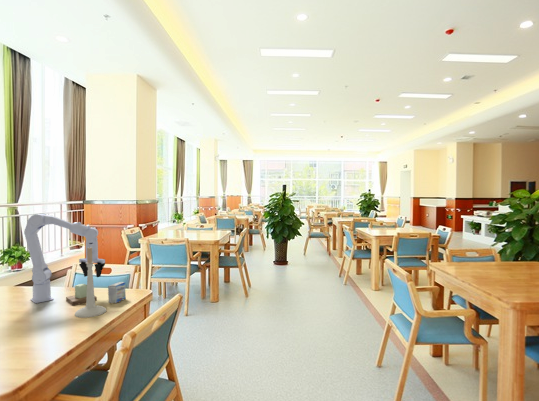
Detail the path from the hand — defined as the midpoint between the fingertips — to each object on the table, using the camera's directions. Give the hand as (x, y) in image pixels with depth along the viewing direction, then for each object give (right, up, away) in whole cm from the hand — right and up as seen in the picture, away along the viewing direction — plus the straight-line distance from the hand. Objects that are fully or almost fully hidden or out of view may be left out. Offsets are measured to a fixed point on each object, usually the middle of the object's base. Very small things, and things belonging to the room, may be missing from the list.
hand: (92, 276), depth 186 cm
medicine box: (+17, -11, -8) cm, 22 cm away
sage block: (-2, -9, -8) cm, 12 cm away
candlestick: (+12, -11, -26) cm, 31 cm away
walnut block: (-2, -11, -8) cm, 14 cm away
